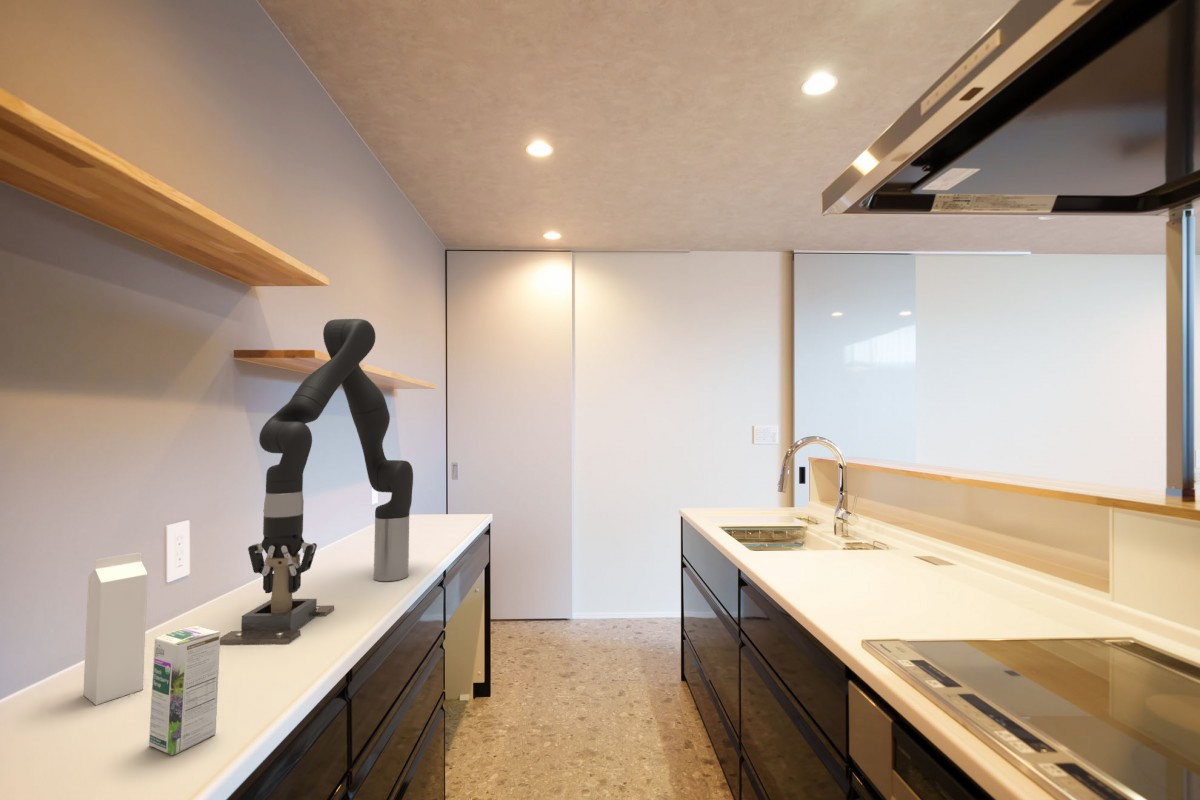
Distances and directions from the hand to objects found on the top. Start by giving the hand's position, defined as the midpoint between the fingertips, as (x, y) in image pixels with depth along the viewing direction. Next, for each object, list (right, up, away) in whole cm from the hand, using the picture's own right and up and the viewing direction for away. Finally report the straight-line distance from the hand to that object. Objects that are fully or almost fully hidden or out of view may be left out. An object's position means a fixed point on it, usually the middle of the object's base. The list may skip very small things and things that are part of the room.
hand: (281, 591), depth 118 cm
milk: (-10, -6, -30) cm, 32 cm away
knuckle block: (0, -7, 0) cm, 7 cm away
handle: (0, -8, 0) cm, 8 cm away
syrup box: (+12, -6, -43) cm, 45 cm away
